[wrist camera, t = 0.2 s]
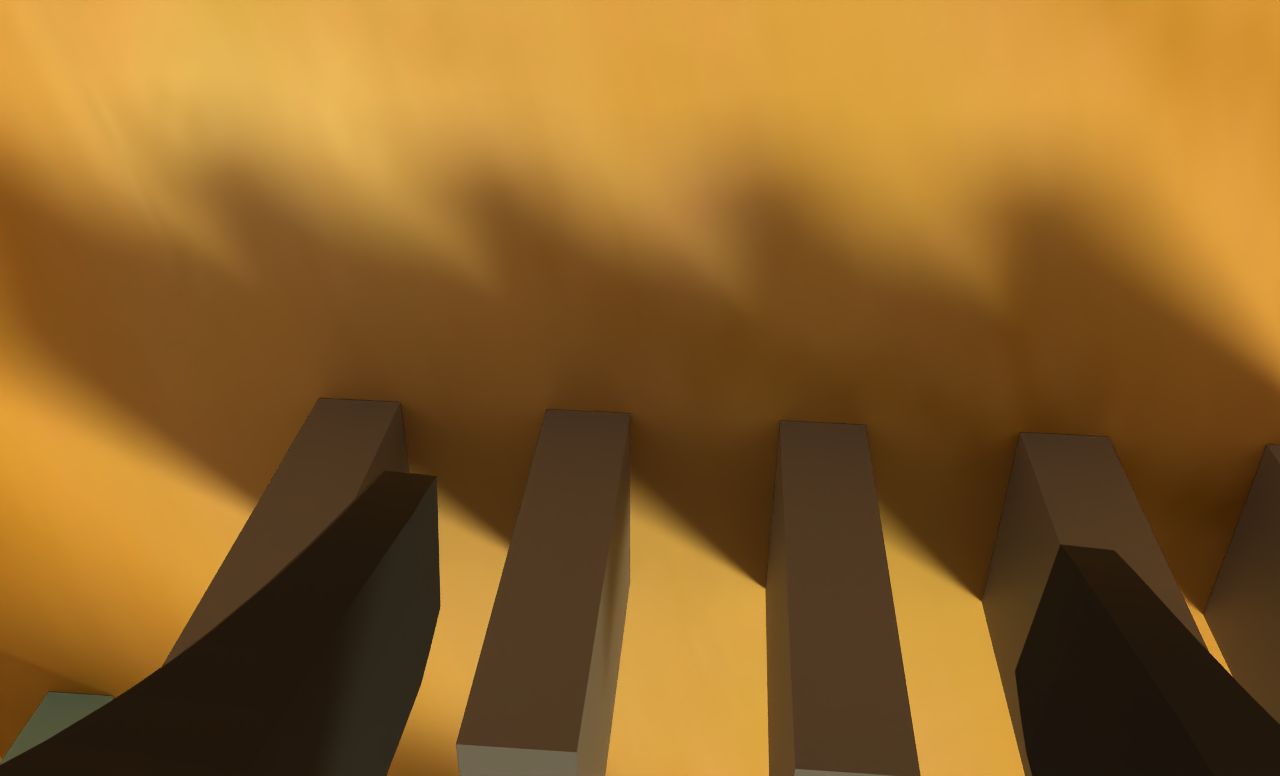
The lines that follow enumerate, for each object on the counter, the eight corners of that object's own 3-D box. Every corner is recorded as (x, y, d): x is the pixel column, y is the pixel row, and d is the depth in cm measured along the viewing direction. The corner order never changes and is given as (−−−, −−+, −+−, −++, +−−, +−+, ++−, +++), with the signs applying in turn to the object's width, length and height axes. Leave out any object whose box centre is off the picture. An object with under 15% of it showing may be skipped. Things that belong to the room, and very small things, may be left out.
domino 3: (865, 424, 24) (920, 777, 16) (842, 593, 26) (880, 965, 19) (780, 420, 24) (795, 769, 16) (765, 589, 27) (772, 957, 19)
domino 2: (629, 413, 24) (576, 752, 17) (629, 581, 27) (583, 941, 19) (546, 409, 24) (456, 744, 17) (554, 577, 27) (479, 932, 19)
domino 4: (1108, 436, 24) (1278, 800, 16) (1060, 606, 26) (1188, 990, 19) (1020, 432, 24) (1148, 791, 16) (982, 602, 26) (1076, 980, 19)
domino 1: (400, 402, 25) (245, 730, 17) (422, 569, 27) (295, 918, 20) (318, 398, 25) (129, 722, 17) (348, 565, 27) (195, 910, 20)
